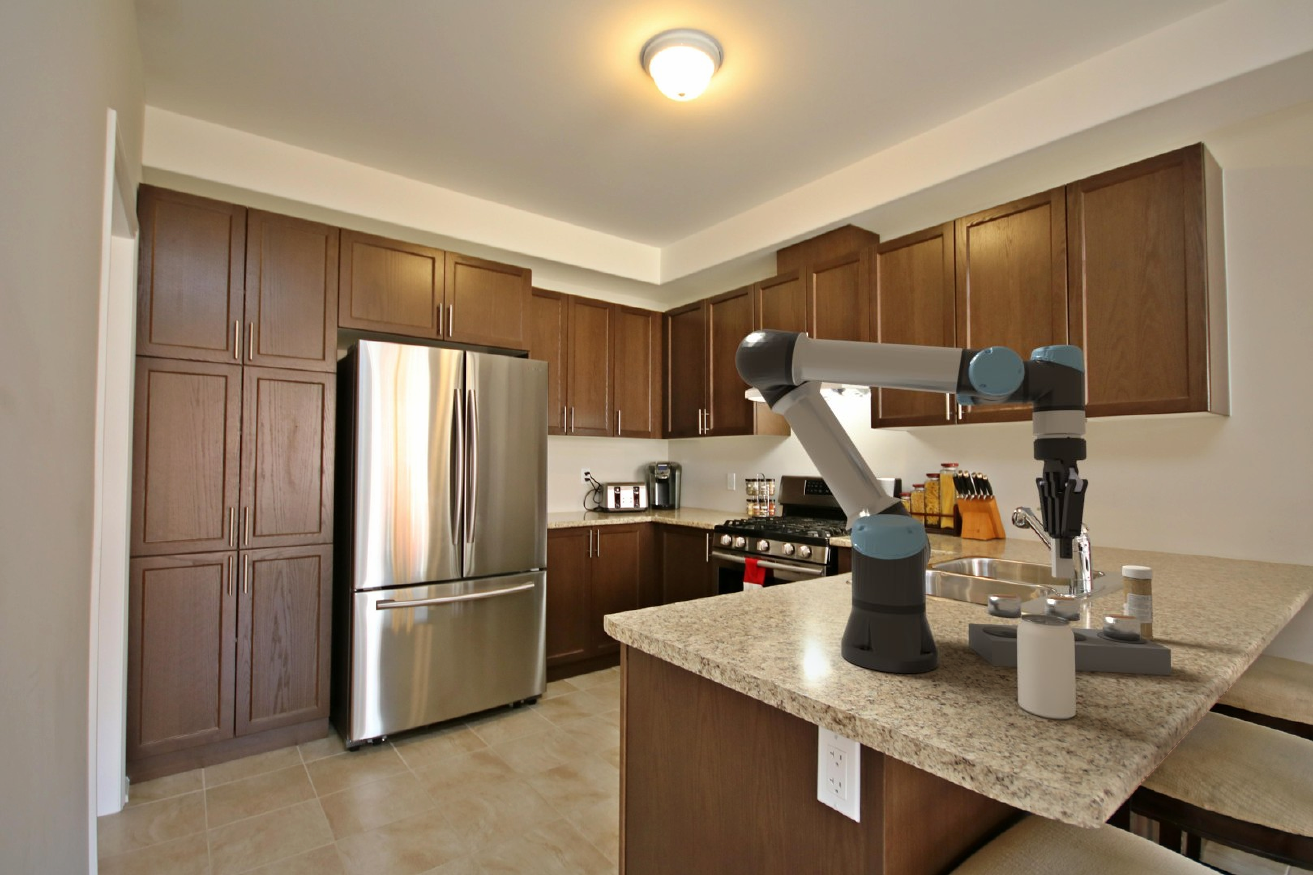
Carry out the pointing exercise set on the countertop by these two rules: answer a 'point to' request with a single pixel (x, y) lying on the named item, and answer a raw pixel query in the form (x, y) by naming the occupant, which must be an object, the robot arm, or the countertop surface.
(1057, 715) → the can
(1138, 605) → the sprinkles bottle
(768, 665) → the countertop surface
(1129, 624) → the knob
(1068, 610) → the knob middle
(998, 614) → the knob
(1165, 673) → the grey tray
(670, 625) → the countertop surface
